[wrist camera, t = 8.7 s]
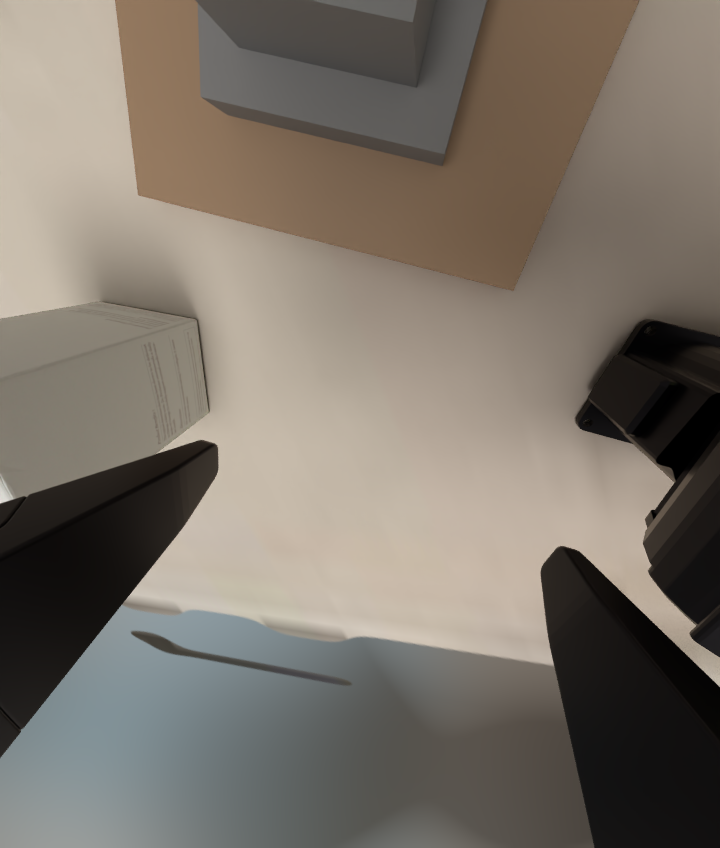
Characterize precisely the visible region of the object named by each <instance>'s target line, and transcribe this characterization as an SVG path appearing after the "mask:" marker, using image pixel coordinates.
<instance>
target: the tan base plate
mask: <svg viewBox="0 0 720 848" xmlns="http://www.w3.org/2000/svg"><path fill="white" fill-rule="evenodd" d="M638 2H639V0H115V3H116V11H117V20H118V28H119V37H120V45H121V54H122V62H123V71H124V79H125V88H126V96H127V105H128V113H129V121H130V130H131V138H132V147H133V155H134V164H135V172H136V181H137V189H138V195H139V196H143V197H147V198H151V199H155V200H159V201H163V202H167V203H171V204H175V205H179V206H183V207H187V208H190V209H194V210H198V211H202V212H206V213H210V214H214V215H218V216H222V217H226V218H230V219H234V220H238V221H241V222H245V223H249V224H253V225H257V226H261V227H265V228H269V229H273V230H277V231H281V232H285V233H289V234H292V235H296V236H300V237H304V238H308V239H312V240H316V241H320V242H324V243H328V244H332V245H336V246H339V247H343V248H347V249H351V250H355V251H359V252H363V253H367V254H371V255H375V256H379V257H383V258H387V259H390V260H394V261H398V262H402V263H406V264H410V265H414V266H418V267H422V268H426V269H430V270H434V271H438V272H441V273H445V274H449V275H453V276H457V277H461V278H465V279H469V280H473V281H477V282H481V283H485V284H489V285H492V286H496V287H500V288H504V289H508V290H512V291H514V288H515V286H516V284H517V281H518V279H519V277H520V274H521V272H522V270H523V268H524V265H525V263H526V261H527V258H528V256H529V254H530V251H531V249H532V247H533V244H534V242H535V240H536V238H537V235H538V233H539V231H540V228H541V226H542V224H543V221H544V219H545V217H546V214H547V212H548V210H549V208H550V205H551V203H552V201H553V198H554V196H555V194H556V191H557V189H558V187H559V184H560V182H561V180H562V178H563V175H564V173H565V171H566V168H567V166H568V164H569V161H570V159H571V157H572V155H573V152H574V150H575V148H576V145H577V143H578V141H579V138H580V136H581V134H582V131H583V129H584V127H585V125H586V122H587V120H588V118H589V115H590V113H591V111H592V108H593V106H594V104H595V101H596V99H597V97H598V95H599V92H600V90H601V88H602V85H603V83H604V81H605V78H606V76H607V74H608V71H609V69H610V67H611V65H612V62H613V60H614V58H615V55H616V53H617V51H618V48H619V46H620V44H621V41H622V39H623V37H624V35H625V32H626V30H627V28H628V25H629V23H630V21H631V18H632V16H633V14H634V12H635V9H636V7H637V5H638Z"/></svg>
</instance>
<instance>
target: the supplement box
mask: <svg viewBox="0 0 720 848" xmlns="http://www.w3.org/2000/svg"><path fill="white" fill-rule="evenodd" d="M208 413H209V410H208V403H207V395H206V388H205V380H204V373H203V365H202V357H201V350H200V342H199V334H198V325H197V321H196V319H191V318H186V317H181V316H176V315H170V314H165V313H160V312H154V311H149V310H144V309H138V308H132V307H127V306H121V305H116V304H110V303H105V302H94V303H89V304H83V305H78V306H72V307H66V308H60V309H54V310H49V311H42V312H37V313H32V314H26V315H20V316H14V317H8V318H2V319H0V503H3V502H6V501H9V500H13V499H16V498H19V497H22V496H26V497H27V496H28V495H29V494H32V493H35V492H38V491H41V490H44V489H47V488H51V487H54V486H57V485H60V484H63V483H66V482H70V481H73V480H76V479H79V478H82V477H85V476H89V475H92V474H95V473H98V472H101V471H104V470H107V469H111V468H114V467H117V466H120V465H123V464H126V463H130V462H133V461H136V460H139V459H142V458H145V457H148V456H152V455H155V454H156V453H157V452H159V451H160V450H161V449H163V448H164V447H165V446H166V445H168V444H169V443H170V442H172V441H173V440H174V439H176V438H177V437H178V436H179V435H181V434H182V433H183V432H185V431H186V430H187V429H189V428H190V427H191V426H192V425H194V424H195V423H196V422H198V421H199V420H200V419H201V418H203V417H204V416H205V415H207V414H208Z"/></svg>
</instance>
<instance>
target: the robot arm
mask: <svg viewBox="0 0 720 848" xmlns="http://www.w3.org/2000/svg"><path fill="white" fill-rule="evenodd" d="M650 326H652V330H651V331H650V332H649V333H648V334H645V330H646V329H647V328H648V327H650ZM587 419H590V420H589V422H588V423H585V424H583V422H584V421H585V420H587ZM576 424H577V426H578V427H579V428H580V429H582V430H584V431H588V432H592V433H595V434H599V435H603V436H606V437H610V438H614V439H617V440H621V441H625V442H628V443H632V444H634V445H635V446H636V447H637V448H638V449H639V450H640V451H641V452H642V453H644V454H645V455H646V456H647V457H648V458H649V459H650V460H651V461H652V462H653V463H654V464H655V465H656V466H657V467H658V468H660V469H661V470H662V471H663V472H664V473H665V474H666V475H667V476H668V477H669V478H670V479H671V480H672V481H673V482H674V484H673V486H672V487H671V489H670V490H669V491H668V493H667V494H666V495H665V497H664V498H663V500H662V501H661V502H660V504H659V505H658V507H657V508H656V509H655V510H651V511H650V513H649V514H648V515H647V517H646V518H645V521H646V525H647V530H646V532H645V536H644V540H643V545H644V548H645V551H646V553H647V556H648V559H649V562H650V563H651V565H652V566H651V567H650V568H649V570H648V572H649V575H650V576H651V578H652V579H653V580H654V582H655V583H656V584H657V586H658V587H659V588H660V589H661V591H662V592H663V593H664V595H665V596H666V597H667V598H668V599H669V600H670V601H671V602H672V603H673V604H674V605H675V606H676V607H677V608H678V609H679V610H680V611H681V612H682V613H683V614H684V615H685V616H686V617H687V618H688V619H690V620H691V621H692V622H693V623H694V624H695V625H697V626H696V627H695V628H694V629H693V630H692V631H691V632H690V636H691V637H692V639H693V640H694V641H695V642H697V643H698V644H700V645H701V646H703V647H704V648H706V649H708V650H709V651H711V652H712V653H714V654H715V655H717V656H718V657H720V337H719V336H715V335H711V334H708V333H704V332H700V331H696V330H692V329H688V328H684V327H680V326H676V325H672V324H668V323H664V322H660V321H656V320H651V319H648V320H644V321H642V322H641V323H639V324H638V325H637V326H636V328H635V329H634V331H633V332H632V334H631V336H630V337H629V339H628V340H627V342H626V343H625V345H624V346H623V348H622V349H621V351H620V352H619V354H618V355H617V356H615V357H614V358H613V359H612V361H611V362H610V364H609V365H608V367H607V368H606V370H605V372H604V373H603V375H602V376H601V378H600V379H599V381H598V382H597V384H596V385H595V387H594V388H593V390H592V391H591V393H590V395H589V400H588V401H587V403H586V404H585V406H584V407H583V409H582V410H581V412H580V413H579V415H578V416H577V418H576ZM217 472H218V447H217V445H216V444H214V443H211V442H208V441H204V440H199V441H196V442H193V443H189V444H186V445H183V446H180V447H177V448H174V449H171V450H167V451H164V452H161V453H158V454H155V455H152V456H148V457H145V458H142V459H139V460H136V461H133V462H130V463H126V464H123V465H120V466H117V467H114V468H111V469H107V470H104V471H101V472H98V473H95V474H92V475H89V476H85V477H82V478H79V479H76V480H73V481H70V482H66V483H63V484H60V485H57V486H54V487H51V488H47V489H44V490H41V491H38V492H35V493H32V494H29V495H28V496H27V497H26V496H22V497H19V498H16V499H13V500H9V501H6V502H3V503H0V757H1V756H2V755H3V754H4V753H5V751H6V750H7V749H8V748H9V746H10V745H11V744H12V742H13V741H14V740H15V739H16V737H17V736H18V735H19V734H20V732H21V729H23V728H24V727H25V726H26V724H27V723H28V722H29V721H30V719H31V718H32V717H33V716H34V714H35V713H36V712H37V711H38V709H39V708H40V707H41V705H42V704H43V703H44V702H45V701H46V699H47V698H48V697H49V696H50V694H51V693H52V692H53V690H54V689H55V688H56V687H57V685H58V684H59V683H60V682H61V680H62V679H63V678H64V677H65V675H66V674H67V673H68V672H69V670H70V669H71V668H72V667H73V665H74V664H75V663H76V662H77V660H78V659H79V657H81V655H82V654H83V653H84V652H85V650H86V649H87V648H88V646H89V645H90V644H91V643H92V641H93V640H94V639H95V638H96V636H97V635H98V634H99V633H100V631H101V630H102V629H103V628H104V626H105V625H106V624H107V623H108V621H109V620H110V619H111V618H112V616H113V615H114V614H115V612H116V611H117V610H118V609H119V607H120V606H121V605H122V604H123V602H124V601H125V600H126V599H127V597H128V596H129V595H130V594H131V592H132V591H133V590H134V589H135V587H136V586H137V585H138V584H139V582H140V581H141V580H142V579H143V577H144V576H145V575H146V574H147V572H148V571H149V570H150V569H151V567H152V566H153V565H154V563H155V562H156V561H157V560H158V558H159V557H160V556H161V555H162V553H163V552H164V551H165V550H166V548H167V547H168V546H169V545H170V543H171V542H172V541H173V540H174V538H175V537H176V536H177V535H178V533H179V532H180V531H181V529H182V528H183V527H184V525H185V524H186V522H187V521H188V519H189V518H190V516H191V515H192V513H193V512H194V510H195V509H196V507H197V505H198V504H199V502H200V501H201V499H202V498H203V496H204V494H205V493H206V491H207V490H208V488H209V487H210V485H211V483H212V482H213V480H214V479H215V477H216V475H217ZM541 582H542V591H543V599H544V608H545V616H546V625H547V632H548V638H549V643H550V649H551V653H552V658H553V662H554V667H555V671H556V675H557V680H558V684H559V689H560V694H561V698H562V703H563V707H564V712H565V717H566V721H567V726H568V730H569V735H570V739H571V744H572V748H573V752H574V757H575V762H576V766H577V771H578V776H579V780H580V784H581V789H582V793H583V798H584V803H585V807H586V812H587V816H588V821H589V825H590V830H591V834H592V839H593V843H594V848H720V687H719V686H718V685H717V684H716V683H715V682H714V681H713V680H712V679H711V678H710V677H709V676H708V675H707V674H706V673H705V672H704V671H703V670H702V669H700V668H699V667H698V666H697V665H696V664H695V663H694V662H693V661H692V660H691V659H690V658H689V657H688V656H687V655H686V654H685V653H684V652H683V651H682V650H681V649H680V648H679V647H678V646H677V645H676V644H675V643H674V642H673V641H672V640H670V639H669V638H668V637H667V636H666V635H665V634H664V633H663V632H662V631H661V630H660V629H659V628H658V627H657V626H656V625H655V624H654V623H653V622H652V621H651V620H650V619H649V618H648V617H647V616H646V615H645V614H644V613H643V612H642V611H641V610H639V609H638V608H637V607H636V606H635V605H634V604H633V603H632V602H631V601H630V600H629V599H628V598H627V597H626V596H625V595H624V594H623V593H622V592H621V591H620V590H619V589H618V588H617V587H616V586H615V585H614V584H613V583H612V582H611V581H609V580H608V579H607V578H606V577H605V576H604V575H603V574H602V573H601V572H600V571H599V570H598V569H597V568H596V567H595V566H594V565H593V564H592V563H591V562H590V561H589V560H588V559H587V558H586V557H585V556H584V555H583V554H582V553H580V552H579V551H577V550H575V549H571V548H568V547H565V546H560V547H557V548H556V549H555V551H554V552H553V553H552V554H551V555H550V557H549V558H548V559H547V560H546V562H545V563H544V564H543V566H542V568H541Z"/></svg>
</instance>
